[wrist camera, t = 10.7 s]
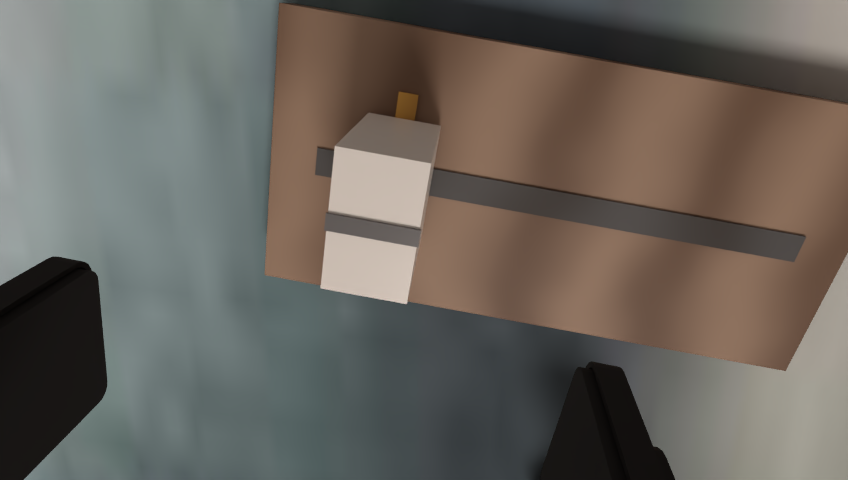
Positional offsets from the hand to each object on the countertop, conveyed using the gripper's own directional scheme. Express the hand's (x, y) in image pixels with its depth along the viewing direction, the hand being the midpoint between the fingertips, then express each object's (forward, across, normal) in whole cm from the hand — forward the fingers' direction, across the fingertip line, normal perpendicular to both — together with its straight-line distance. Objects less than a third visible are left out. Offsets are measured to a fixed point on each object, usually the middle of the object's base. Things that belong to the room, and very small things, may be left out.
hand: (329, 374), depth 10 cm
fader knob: (+14, +1, 0) cm, 14 cm away
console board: (+16, -6, 0) cm, 17 cm away
